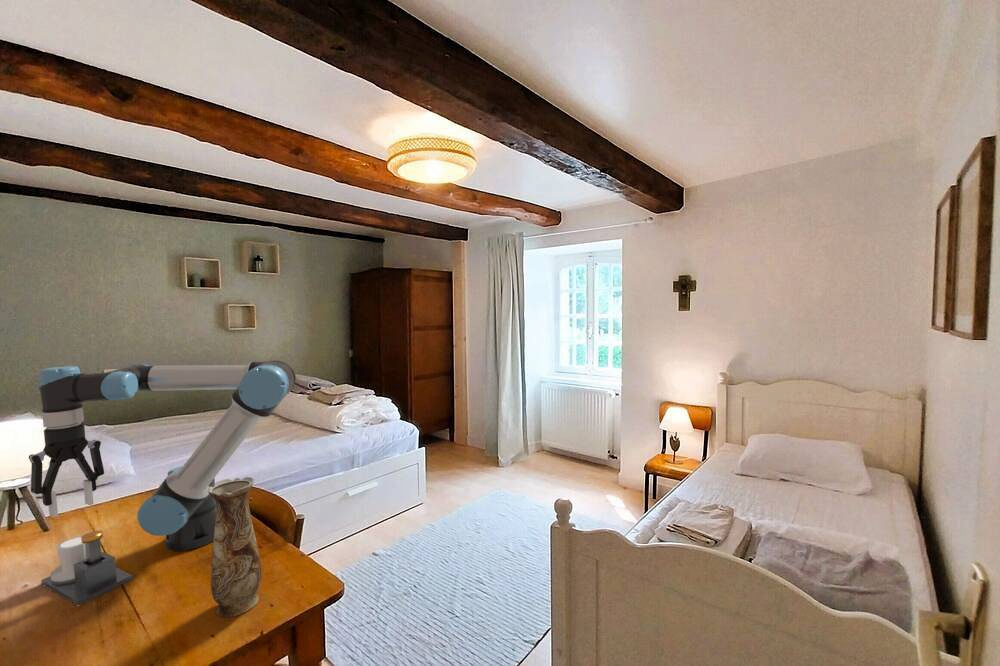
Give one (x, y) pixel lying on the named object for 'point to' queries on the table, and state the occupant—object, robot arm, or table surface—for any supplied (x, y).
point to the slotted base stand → (90, 580)
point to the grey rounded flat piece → (61, 577)
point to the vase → (234, 549)
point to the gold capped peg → (92, 546)
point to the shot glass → (71, 553)
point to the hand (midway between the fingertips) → (72, 509)
